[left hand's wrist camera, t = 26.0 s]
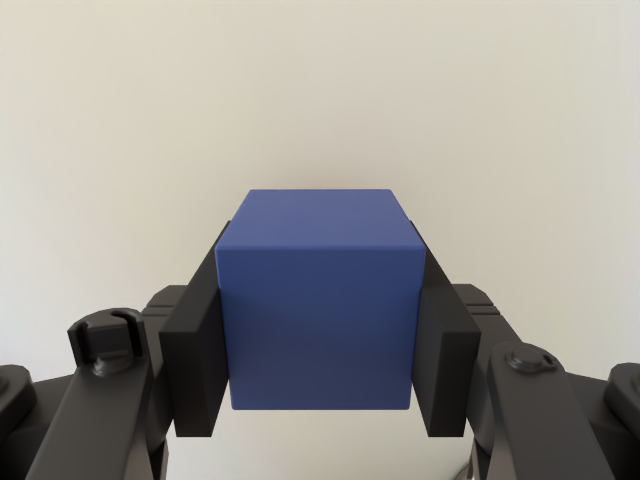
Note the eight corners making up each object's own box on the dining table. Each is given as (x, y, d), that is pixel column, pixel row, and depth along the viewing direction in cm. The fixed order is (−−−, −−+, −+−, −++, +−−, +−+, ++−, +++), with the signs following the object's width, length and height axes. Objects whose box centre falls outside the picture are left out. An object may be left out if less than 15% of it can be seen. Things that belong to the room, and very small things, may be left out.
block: (391, 188, 14) (427, 246, 9) (383, 310, 15) (409, 411, 11) (249, 188, 14) (212, 246, 9) (257, 311, 15) (231, 411, 11)
